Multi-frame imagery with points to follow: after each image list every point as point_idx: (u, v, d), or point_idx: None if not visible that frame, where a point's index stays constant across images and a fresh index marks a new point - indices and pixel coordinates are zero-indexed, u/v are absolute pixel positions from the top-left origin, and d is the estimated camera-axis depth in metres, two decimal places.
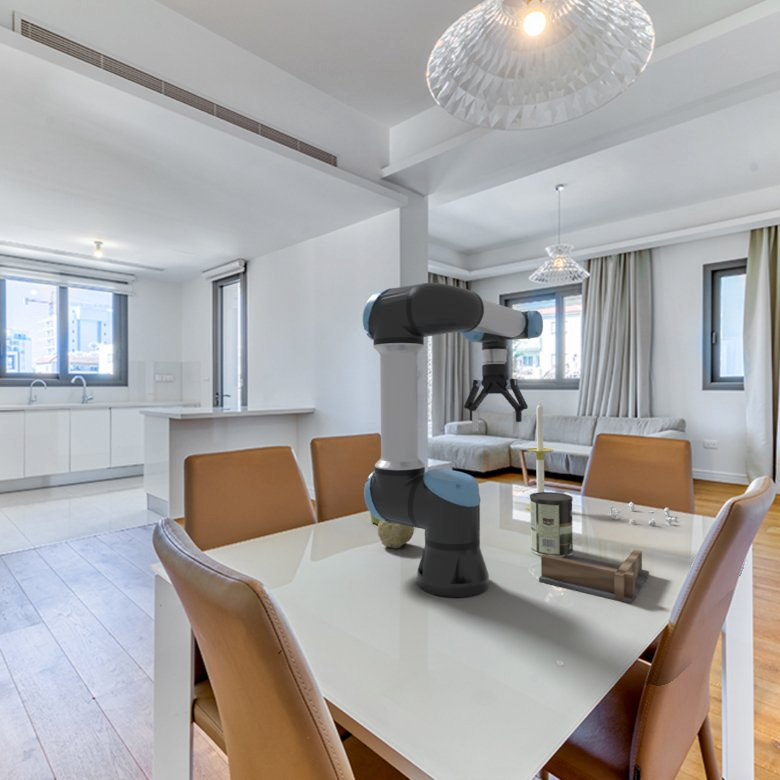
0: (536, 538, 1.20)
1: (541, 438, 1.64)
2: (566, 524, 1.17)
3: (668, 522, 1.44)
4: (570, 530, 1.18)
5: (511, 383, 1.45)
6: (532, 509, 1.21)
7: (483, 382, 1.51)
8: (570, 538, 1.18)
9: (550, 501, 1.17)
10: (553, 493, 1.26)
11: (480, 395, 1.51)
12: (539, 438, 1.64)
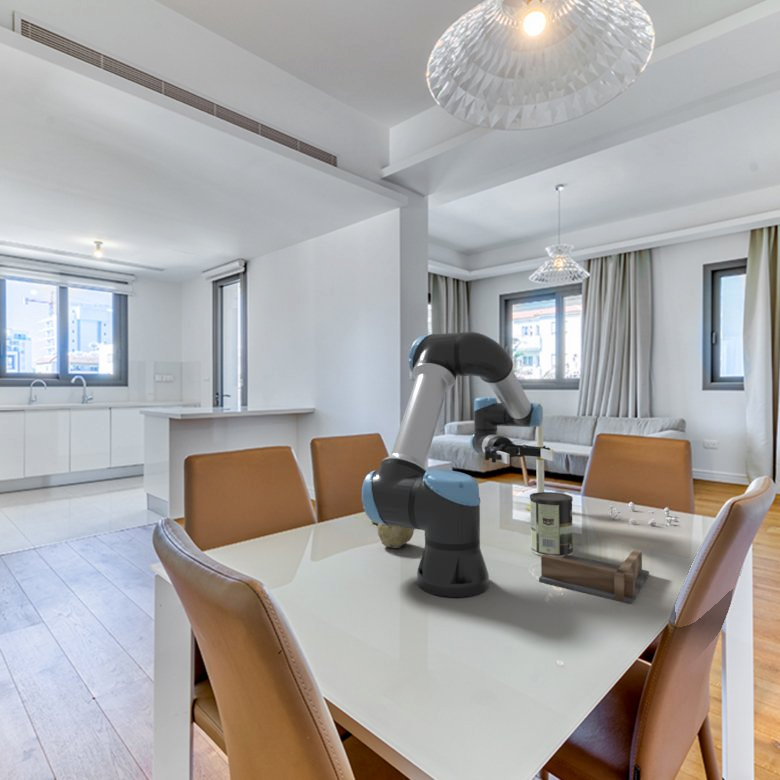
0: (536, 538, 1.20)
1: (541, 438, 1.64)
2: (566, 524, 1.17)
3: (668, 522, 1.44)
4: (570, 530, 1.18)
5: (525, 445, 1.47)
6: (532, 509, 1.21)
7: (496, 447, 1.46)
8: (570, 538, 1.18)
9: (550, 501, 1.17)
10: (553, 493, 1.26)
11: (498, 448, 1.42)
12: (539, 438, 1.64)
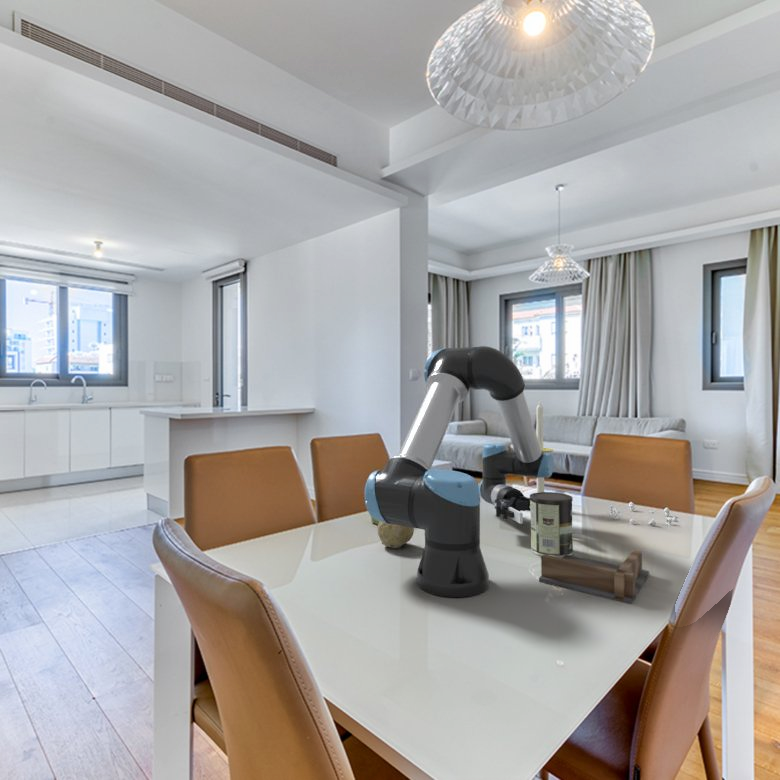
0: (536, 538, 1.20)
1: (541, 438, 1.64)
2: (566, 524, 1.17)
3: (668, 522, 1.45)
4: (570, 530, 1.18)
5: None
6: (532, 509, 1.21)
7: (506, 500, 1.40)
8: (570, 538, 1.18)
9: (550, 501, 1.17)
10: (553, 493, 1.26)
11: (509, 503, 1.36)
12: (539, 438, 1.64)
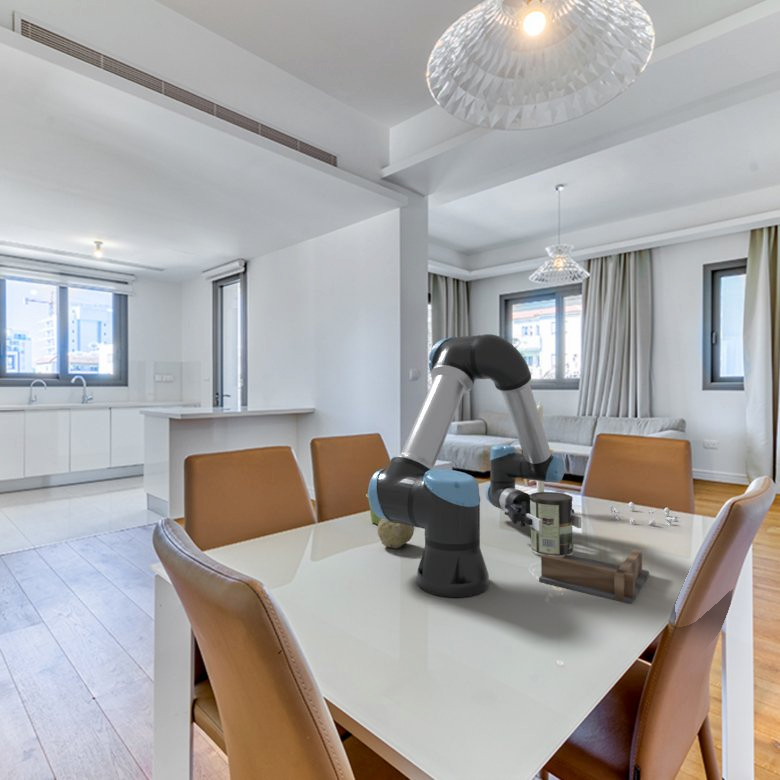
0: (536, 538, 1.20)
1: None
2: (566, 524, 1.17)
3: (668, 522, 1.45)
4: (570, 530, 1.18)
5: None
6: (532, 509, 1.21)
7: (516, 505, 1.33)
8: (570, 538, 1.18)
9: (550, 501, 1.17)
10: (553, 493, 1.26)
11: (523, 508, 1.29)
12: None
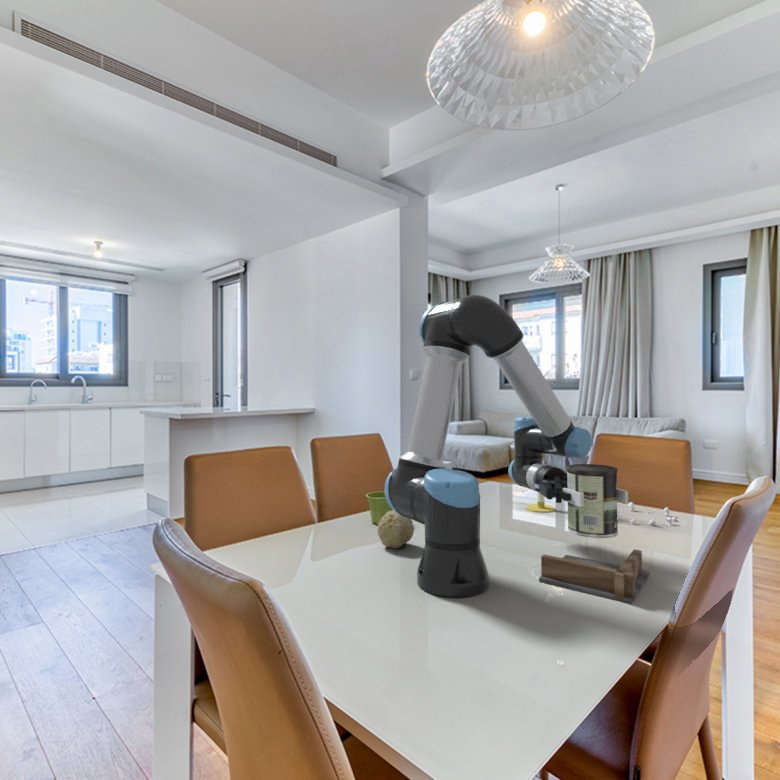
0: (575, 516, 1.03)
1: None
2: (611, 499, 1.01)
3: (668, 522, 1.45)
4: (615, 506, 1.02)
5: None
6: (570, 482, 1.05)
7: (548, 480, 1.17)
8: (615, 515, 1.02)
9: (593, 472, 1.01)
10: (592, 465, 1.09)
11: (557, 483, 1.12)
12: None
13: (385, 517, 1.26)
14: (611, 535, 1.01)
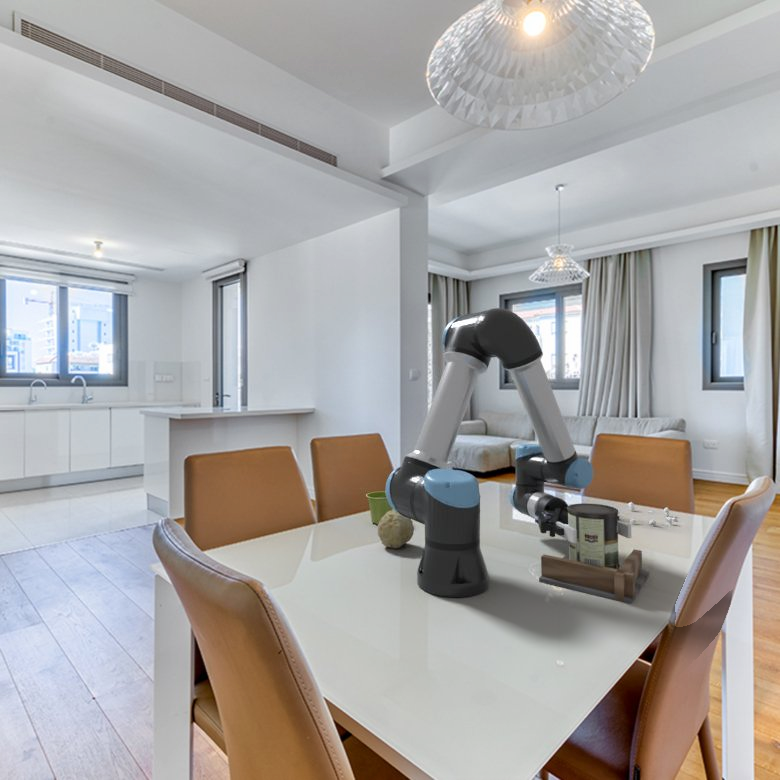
0: (576, 558, 1.03)
1: None
2: (612, 542, 1.01)
3: (668, 522, 1.45)
4: (616, 548, 1.02)
5: None
6: (571, 523, 1.05)
7: (549, 511, 1.17)
8: (616, 557, 1.02)
9: (593, 514, 1.01)
10: (593, 505, 1.09)
11: (555, 516, 1.12)
12: None
13: (385, 517, 1.26)
14: None
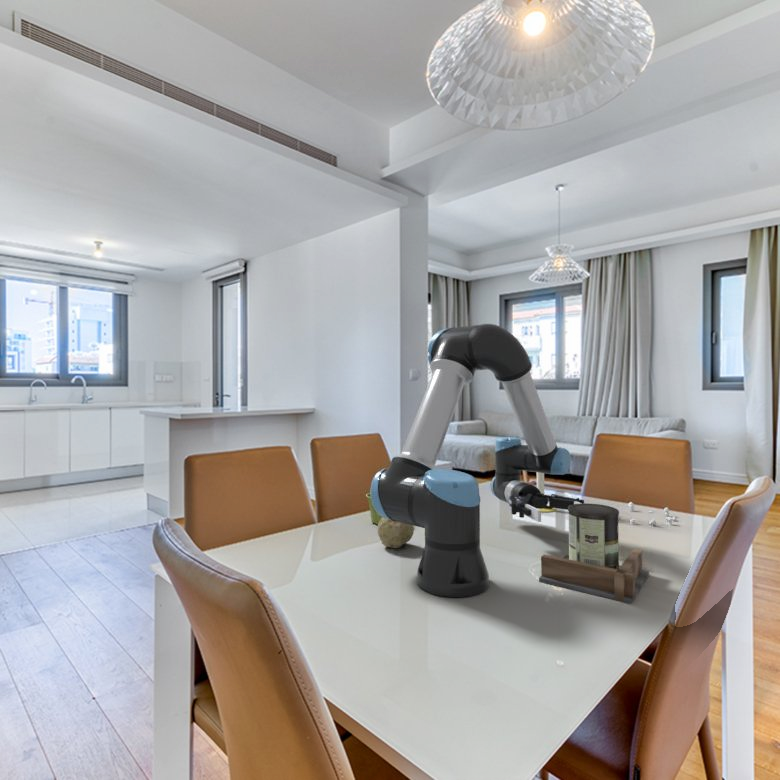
0: (576, 558, 1.03)
1: None
2: (613, 542, 1.01)
3: (669, 522, 1.45)
4: (616, 549, 1.02)
5: (554, 495, 1.31)
6: (571, 524, 1.05)
7: (522, 497, 1.30)
8: (617, 558, 1.02)
9: (594, 515, 1.00)
10: (594, 505, 1.09)
11: (526, 500, 1.26)
12: None
13: None
14: None
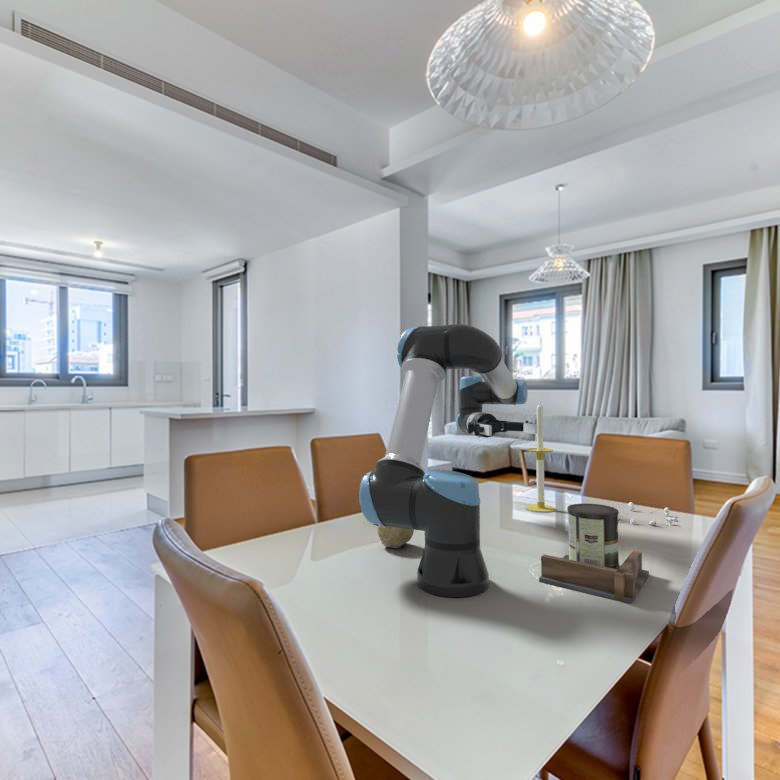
0: (576, 558, 1.03)
1: (541, 438, 1.64)
2: (612, 542, 1.01)
3: (669, 522, 1.45)
4: (616, 549, 1.02)
5: None
6: (571, 524, 1.05)
7: (480, 422, 1.46)
8: (616, 558, 1.02)
9: (593, 515, 1.01)
10: (594, 505, 1.09)
11: (482, 423, 1.42)
12: (539, 438, 1.64)
13: None
14: None
